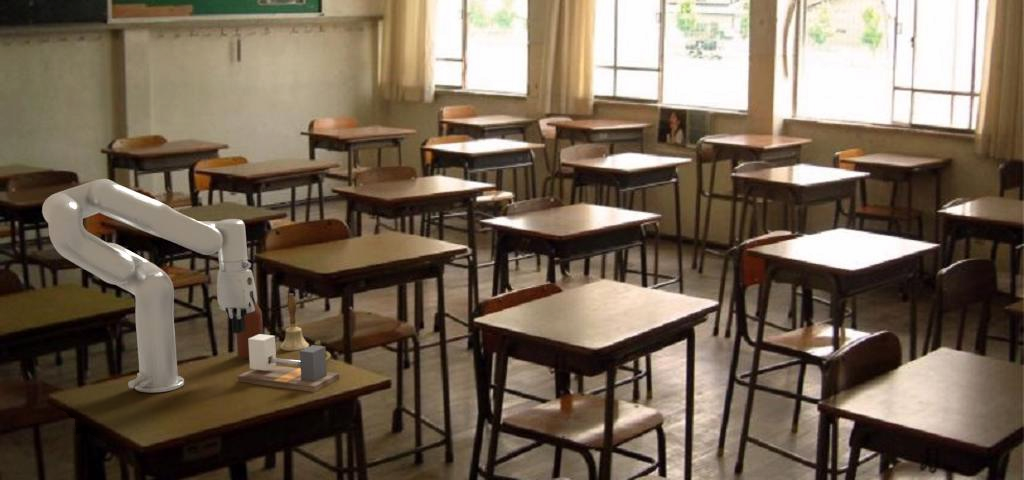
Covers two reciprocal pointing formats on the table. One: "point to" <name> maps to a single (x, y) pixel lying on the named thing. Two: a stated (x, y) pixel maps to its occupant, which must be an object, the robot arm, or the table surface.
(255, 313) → the bottle
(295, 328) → the hand bell
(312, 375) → the connector block
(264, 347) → the sleeve
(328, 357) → the seal
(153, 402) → the table surface
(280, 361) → the metal rod
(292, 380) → the board
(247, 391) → the table surface
